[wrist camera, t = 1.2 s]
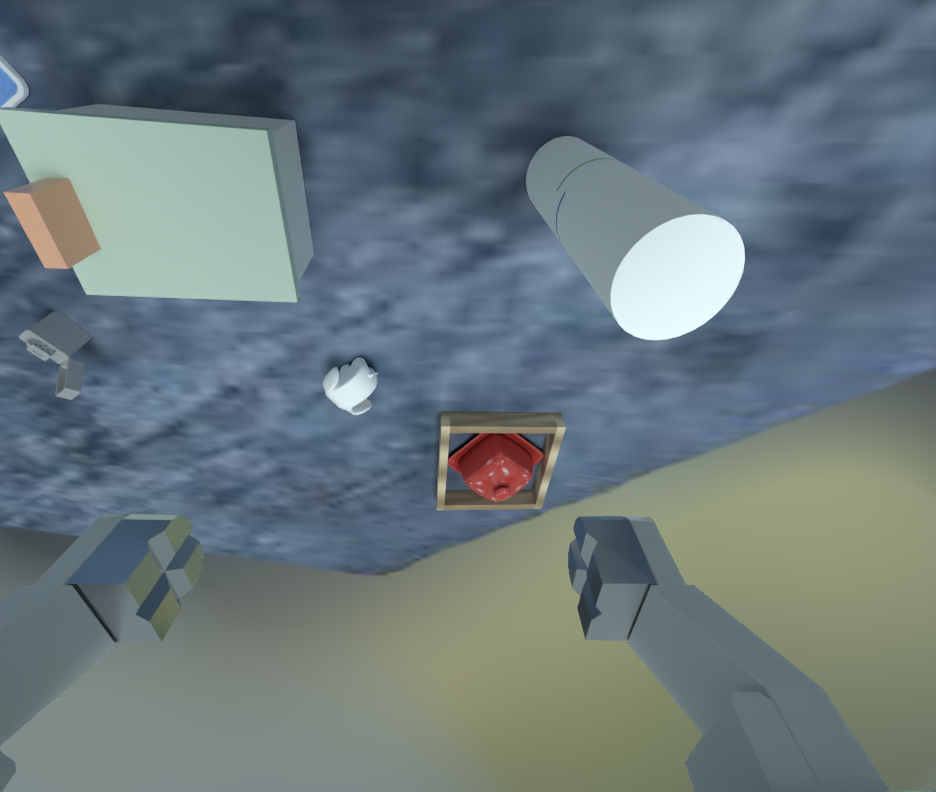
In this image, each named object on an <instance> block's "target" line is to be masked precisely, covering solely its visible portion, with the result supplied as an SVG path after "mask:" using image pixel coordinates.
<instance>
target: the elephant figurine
mask: <svg viewBox="0 0 936 792" xmlns="http://www.w3.org/2000/svg"><path fill="white" fill-rule="evenodd" d="M376 374H378V373H375V371H374V370H373V369H372V368H370V367H368V366H367V363H366V362H365V360H364V359H363V358H361V357H357V358H356V359H354V361H353V362H352V364H351V366H350V365H348V364H345V365H343V366H342V367H341V369H340V371H338V369H337V367H334V368H332V369H331V370H330V371H329V372H328V373H327V375H326V376H325V378H324V380H323V386H324V388H325V393H326V395H327V397H328V398H329V399H331V400H332V401H333V402H334V403H335V404H336V405H337V406H338V407H339V408H341V409H344V410H347V411H349V412H350V413H351V414H353V415H359V414H362V413H364V412H366V411H367V410H369V409H370V408H371V402H370V401H369V400H367V399H366V398H367V397H368V396H369V395H370V394H371V393H372V392H373V391H374V389H375V387H376V385H377V376H376Z"/></svg>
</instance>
